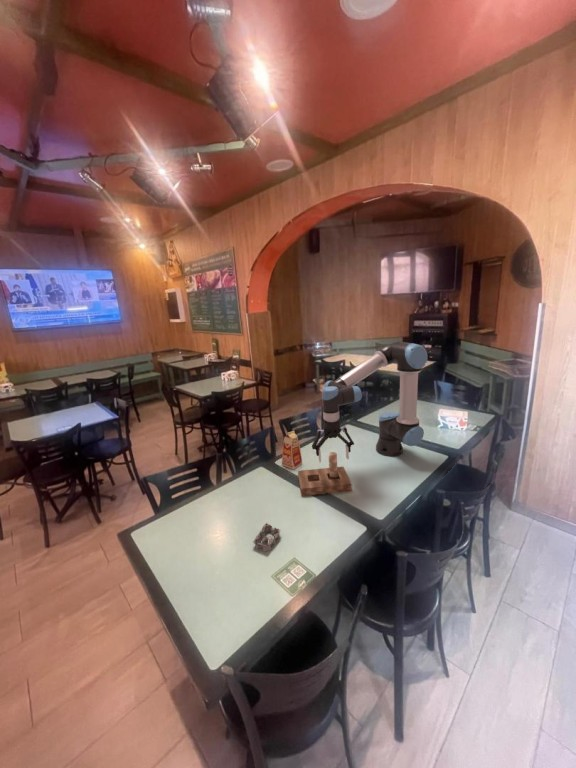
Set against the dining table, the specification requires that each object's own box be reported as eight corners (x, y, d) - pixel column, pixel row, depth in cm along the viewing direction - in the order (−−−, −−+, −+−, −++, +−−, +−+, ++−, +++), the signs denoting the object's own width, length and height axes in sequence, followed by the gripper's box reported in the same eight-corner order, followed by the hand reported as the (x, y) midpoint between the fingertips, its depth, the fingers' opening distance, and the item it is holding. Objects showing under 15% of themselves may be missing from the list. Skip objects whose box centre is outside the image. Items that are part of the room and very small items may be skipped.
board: (343, 473, 164) (343, 466, 162) (351, 491, 148) (351, 483, 147) (298, 477, 162) (297, 470, 161) (301, 496, 147) (301, 488, 146)
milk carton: (294, 469, 171) (291, 435, 165) (281, 465, 176) (278, 432, 171) (303, 462, 178) (301, 429, 172) (290, 458, 183) (288, 426, 178)
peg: (336, 480, 158) (335, 451, 153) (338, 485, 154) (337, 455, 149) (328, 481, 157) (327, 452, 153) (330, 485, 153) (329, 456, 149)
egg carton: (267, 529, 127) (266, 521, 126) (283, 536, 123) (282, 527, 122) (251, 547, 119) (250, 538, 117) (267, 554, 115) (266, 545, 114)
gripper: (355, 413, 151) (356, 453, 156) (304, 419, 150) (307, 458, 155) (359, 419, 143) (361, 460, 149) (306, 425, 143) (309, 466, 148)
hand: (333, 459), depth 152 cm, fingers open, 13 cm apart
